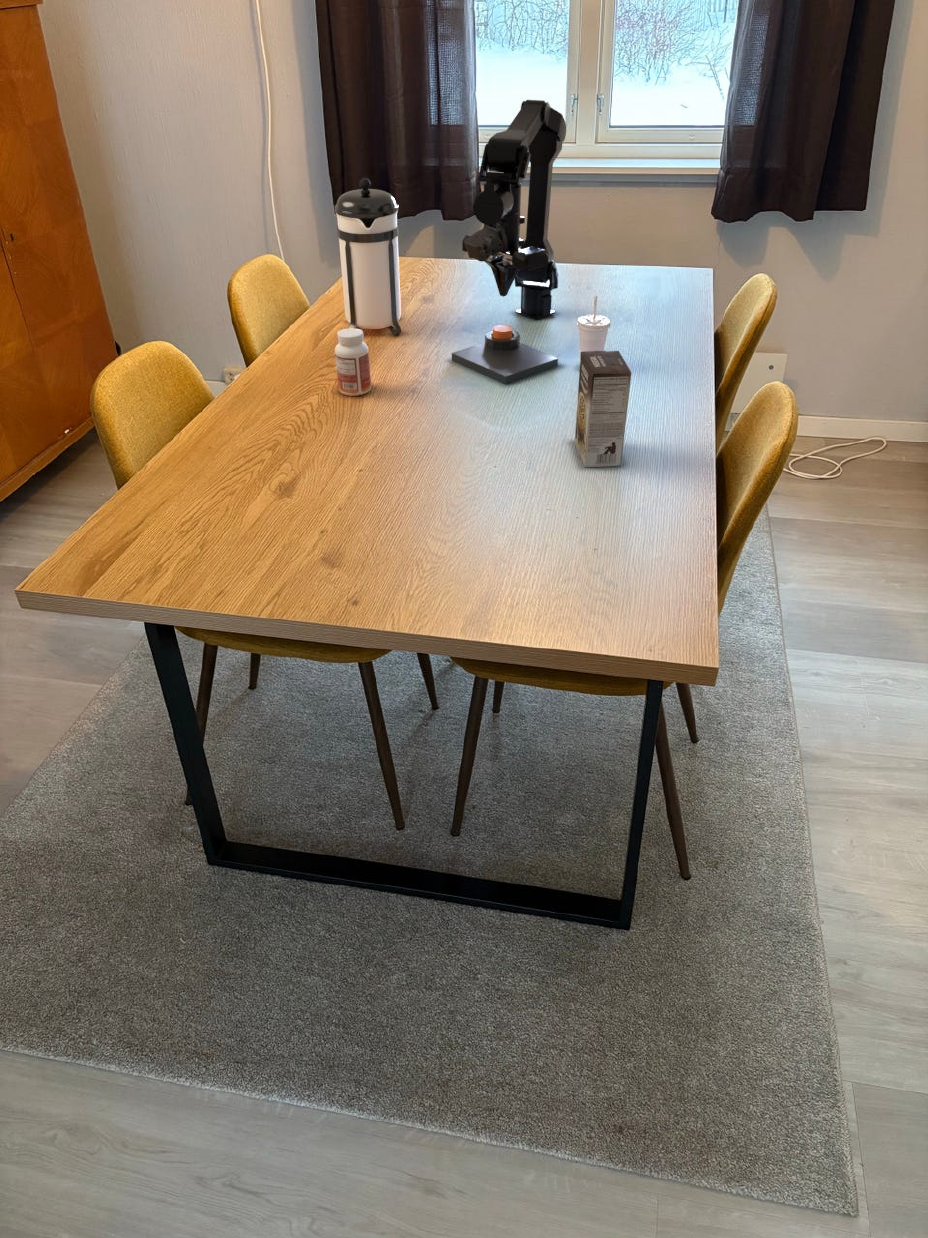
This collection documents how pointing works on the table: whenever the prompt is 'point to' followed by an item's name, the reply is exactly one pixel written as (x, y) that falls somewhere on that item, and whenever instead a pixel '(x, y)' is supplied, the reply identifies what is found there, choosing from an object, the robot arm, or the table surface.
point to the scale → (504, 359)
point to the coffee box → (602, 408)
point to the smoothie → (593, 331)
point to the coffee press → (369, 258)
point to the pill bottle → (352, 363)
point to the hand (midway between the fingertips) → (503, 295)
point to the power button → (502, 332)
